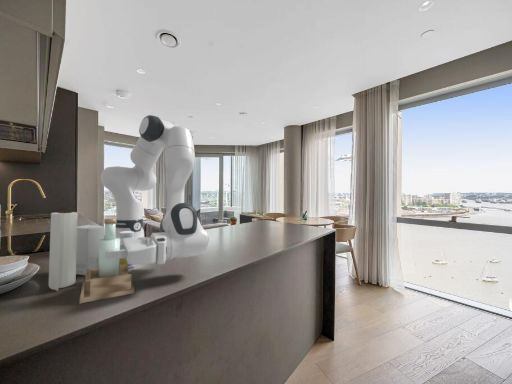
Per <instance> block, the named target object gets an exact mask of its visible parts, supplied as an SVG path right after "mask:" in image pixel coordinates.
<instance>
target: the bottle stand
mask: <svg viewBox="0 0 512 384" xmlns="http://www.w3.org/2000/svg"><path fill="white" fill-rule="evenodd" d="M128 271H129V269H128V264H126V265H119V275H116V276H109V277H102V278H98V268H95V269H87V270H86V275H84V276H85V277H84V282H83V283H82V285H81V290H80V295H79V304H85V303H90V302H96V301H100V300H106V299H111V298H116V297H120V296H126V295H130V294H135V287H134V284H133V281H132V273H128Z"/></svg>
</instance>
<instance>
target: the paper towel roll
mask: <svg viewBox="0 0 512 384" xmlns="http://www.w3.org/2000/svg"><path fill="white" fill-rule="evenodd" d="M78 220H79V212H76V211H58V212H51V213H50V232H49V233H50V236H49V263H48V288H49V289H51V290H54V291H55V290H56V291H59V289H62V288H67V287H71V286H72V285H74V284H75V283H76V282H77V280H76V277H77V276H76V275H77V274H76V254H77V227H78V226H79V225H78Z"/></svg>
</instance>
